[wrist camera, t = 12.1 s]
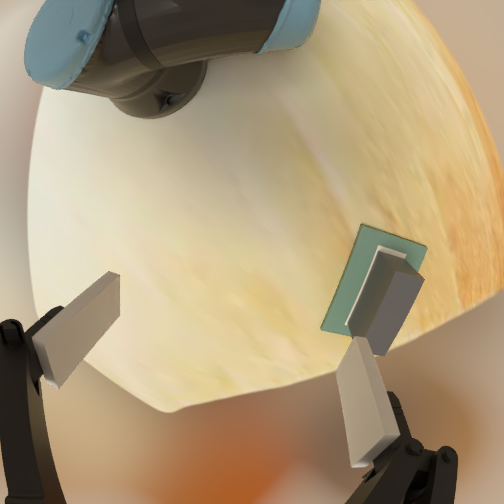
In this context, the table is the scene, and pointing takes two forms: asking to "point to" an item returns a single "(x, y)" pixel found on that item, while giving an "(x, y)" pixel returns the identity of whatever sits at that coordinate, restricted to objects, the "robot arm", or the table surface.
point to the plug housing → (385, 301)
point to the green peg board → (365, 272)
